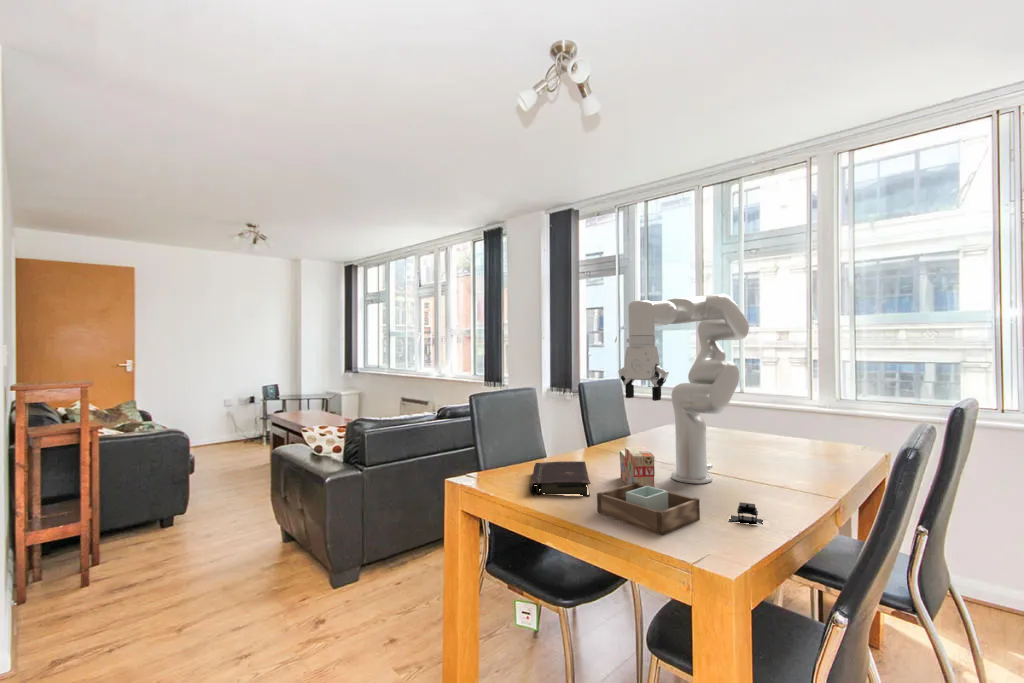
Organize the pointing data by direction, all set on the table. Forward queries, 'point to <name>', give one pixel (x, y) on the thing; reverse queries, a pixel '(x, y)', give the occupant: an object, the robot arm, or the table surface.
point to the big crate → (649, 510)
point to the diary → (560, 478)
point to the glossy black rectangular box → (746, 509)
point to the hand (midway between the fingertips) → (642, 399)
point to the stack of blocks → (637, 466)
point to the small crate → (649, 498)
